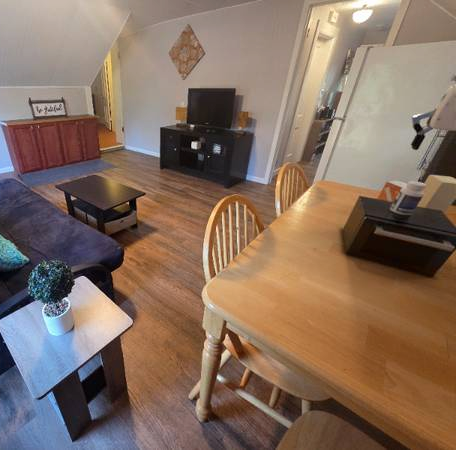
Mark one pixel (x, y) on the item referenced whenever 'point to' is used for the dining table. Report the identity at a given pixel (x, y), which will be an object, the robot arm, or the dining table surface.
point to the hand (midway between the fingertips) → (437, 151)
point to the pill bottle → (408, 198)
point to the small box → (391, 190)
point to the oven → (394, 217)
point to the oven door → (402, 245)
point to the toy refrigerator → (438, 193)
